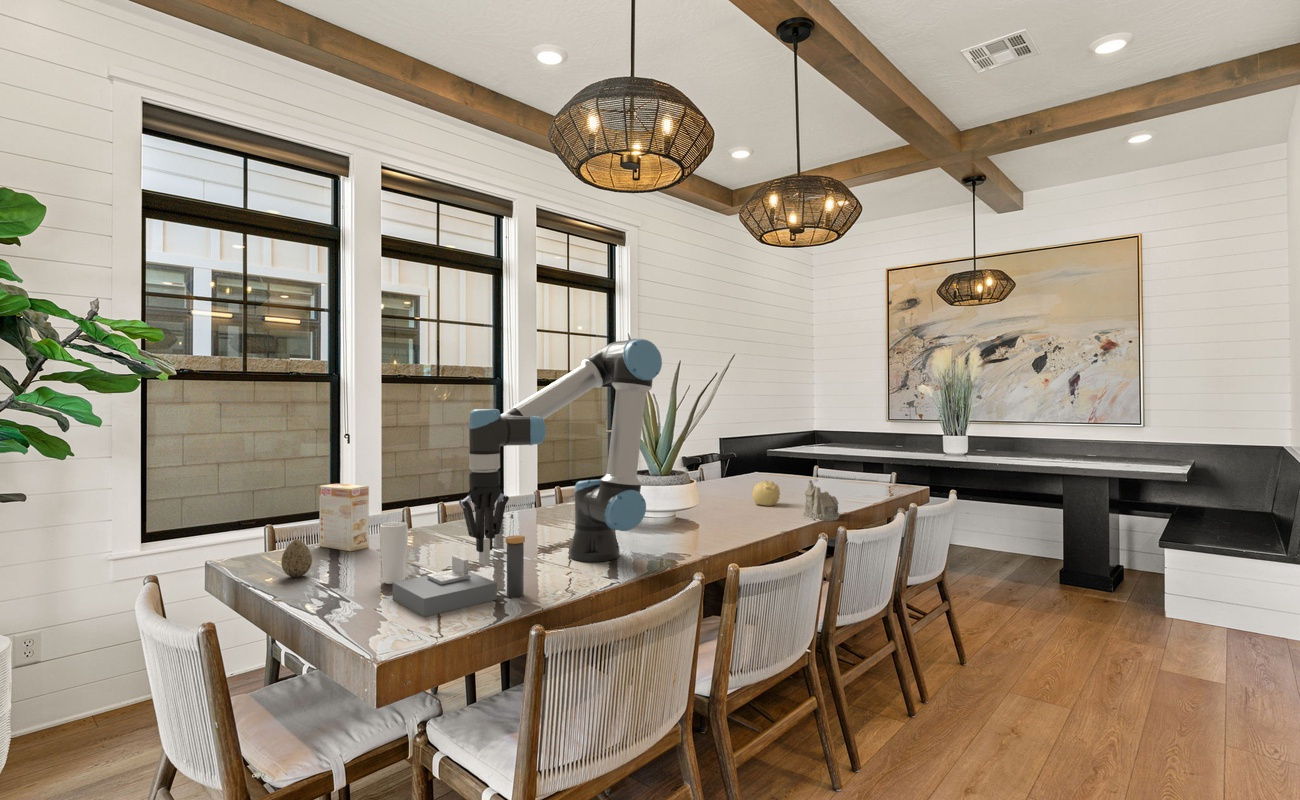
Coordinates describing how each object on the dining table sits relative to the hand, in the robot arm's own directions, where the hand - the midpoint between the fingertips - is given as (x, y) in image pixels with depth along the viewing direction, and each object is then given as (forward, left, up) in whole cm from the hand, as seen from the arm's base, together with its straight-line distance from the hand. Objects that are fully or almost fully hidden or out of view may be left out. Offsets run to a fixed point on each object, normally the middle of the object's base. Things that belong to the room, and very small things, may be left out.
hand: (484, 563), depth 166 cm
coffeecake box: (+11, -69, -6) cm, 71 cm away
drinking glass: (+15, -20, -6) cm, 26 cm away
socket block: (+12, +2, -6) cm, 13 cm away
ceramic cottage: (-146, +6, -6) cm, 147 cm away
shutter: (+10, 0, -2) cm, 10 cm away
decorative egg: (+32, -42, -6) cm, 53 cm away
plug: (-2, +11, -6) cm, 12 cm away
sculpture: (-152, -26, -6) cm, 155 cm away
